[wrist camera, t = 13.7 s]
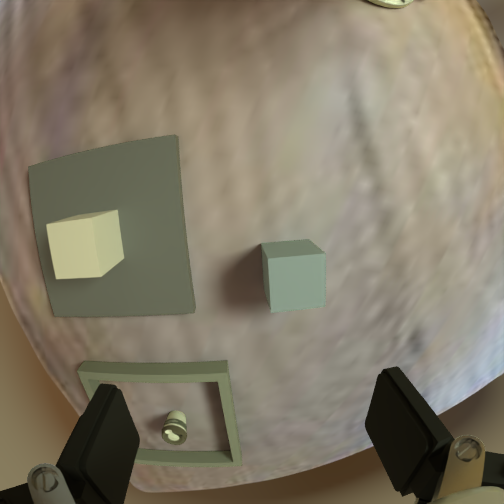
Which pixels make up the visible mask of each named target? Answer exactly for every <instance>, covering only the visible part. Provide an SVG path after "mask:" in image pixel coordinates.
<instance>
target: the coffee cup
mask: <svg viewBox="0 0 504 504" xmlns="http://www.w3.org/2000/svg"><path fill="white" fill-rule="evenodd" d="M186 430H187V427H186V416H185V415H184V414H183V413H182V412H180V411H171V412H170V413H169V415H168V417H167V420H166V422H165V424H164V427H163V429H162V438H163V439H164V440H165V441H166V442H167V443H170V444H174V445H180V444H182V443H184V442H185V440H186V437H187V433H186Z"/></svg>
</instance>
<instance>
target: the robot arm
mask: <svg viewBox="0 0 504 504" xmlns="http://www.w3.org/2000/svg"><path fill="white" fill-rule="evenodd" d="M368 1H370V2H372V3H375V4H377V5H381V6H384V7H389V8H403V7H406V6H408V5H409V4H410V3H411V2H413V1H414V0H368ZM365 428H366V431H367V433H368V435H369V437H370V439H371V441H372V443H373V445H374V447H375V449H376V451H377V453H378V455H379V457H380V459H381V461H382V464H383V466H384V468H385V470H386V472H387V474H388V476H389V478H390V480H391V482H392V484H393V487H394V489H395V490H396V491H400V493H401V495H402V496H405V495H408V494H410V493H413V492H414V494H415V496H416V500H415V502H414V504H504V454H498V453H492V452H486V451H485V446H484V444H483V443H482V442H481V440H480V439H478V438H477V437H475V436H471V435H463V436H460V437H458V438H456V439H454V438H453V437H452V435H451V434H450V433H449V431H448V430H447V429H446V427H445V426H444V424H443V423H442V422H441V421H440V420H439V418H438V417H437V415H436V414H435V413H434V411H433V410H432V409H431V407H430V406H429V405H428V403H427V402H426V401H425V400H424V398H423V397H422V396H421V395H420V393H419V392H418V391H417V390H416V388H415V387H414V386H413V384H412V383H411V382H410V381H409V379H408V378H407V377H406V376H405V374H404V373H403V372H402V371H401V369H400V368H399V367H397V366H396V367H392V368H387V369H383V370H382V372H381V374H379V375H378V377H377V381H376V385H375V388H374V392H373V396H372V400H371V403H370V407H369V410H368V414H367V417H366V420H365ZM139 443H140V438H139V434H138V432H137V430H136V427H135V425H134V422H133V420H132V417H131V415H130V412H129V410H128V407H127V404H126V402H125V399H124V396H123V394H122V391H121V390H120V389H118V388H117V387H116V385H111V384H100V385H99V386H98V388H97V390H96V391H95V393H94V395H93V397H92V399H91V401H90V402H89V404H88V406H87V408H86V410H85V412H84V414H83V415H81V417H80V418H79V420H78V422H77V424H76V426H75V428H74V429H73V431H72V433H71V436H70V437H69V439H68V441H67V443H66V446H65V447H64V449H63V451H62V453H61V455H60V458H59V460H58V462H57V464H56V466H53V465H51V464H46V463H45V464H39V465H37V466H35V467H34V468H32V469H31V471H30V472H29V474H28V477H27V482H28V483H25V484H22V485H19V486H16V487H13V488H9V489H6V490H3V491H0V504H124V500H125V496H126V492H127V488H128V484H129V480H130V477H131V473H132V469H133V465H134V462H135V458H136V454H137V451H138V447H139Z"/></svg>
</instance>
